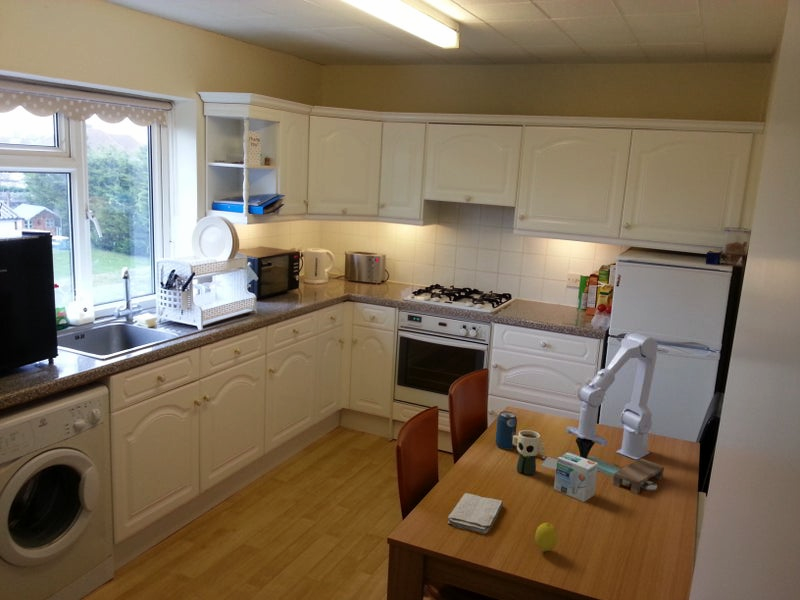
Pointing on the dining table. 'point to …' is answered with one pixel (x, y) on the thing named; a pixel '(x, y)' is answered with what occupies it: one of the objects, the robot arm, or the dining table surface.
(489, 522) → the washcloth
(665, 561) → the dining table surface
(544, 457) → the kitchen cleaver
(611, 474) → the slat
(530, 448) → the character mug
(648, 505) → the dining table surface
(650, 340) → the robot arm
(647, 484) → the steel disc
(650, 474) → the shelf
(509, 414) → the soda can
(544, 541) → the lemon
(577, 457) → the light bulb box
